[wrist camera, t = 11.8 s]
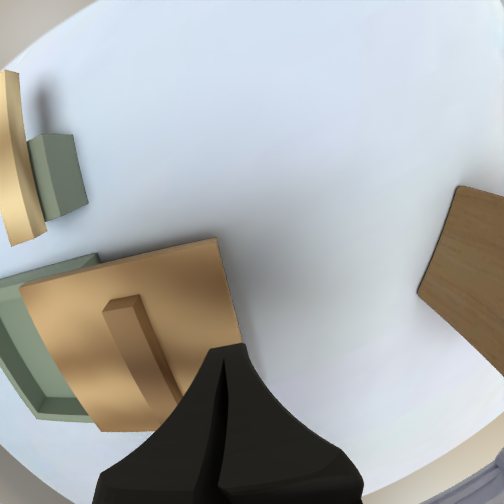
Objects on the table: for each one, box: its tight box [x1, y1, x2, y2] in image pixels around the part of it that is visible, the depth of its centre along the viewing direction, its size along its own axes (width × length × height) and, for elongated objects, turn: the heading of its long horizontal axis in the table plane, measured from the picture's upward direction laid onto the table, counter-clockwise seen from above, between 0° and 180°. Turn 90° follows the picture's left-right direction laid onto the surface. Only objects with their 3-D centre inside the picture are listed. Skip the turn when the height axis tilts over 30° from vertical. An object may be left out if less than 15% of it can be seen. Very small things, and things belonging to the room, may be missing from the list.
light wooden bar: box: [0, 70, 47, 247], centre depth 12 cm, size 10×2×2 cm, turn 11°
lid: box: [18, 237, 243, 432], centre depth 18 cm, size 14×14×2 cm
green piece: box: [0, 253, 101, 423], centre depth 21 cm, size 14×14×3 cm
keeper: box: [26, 134, 88, 222], centre depth 16 cm, size 5×4×4 cm
